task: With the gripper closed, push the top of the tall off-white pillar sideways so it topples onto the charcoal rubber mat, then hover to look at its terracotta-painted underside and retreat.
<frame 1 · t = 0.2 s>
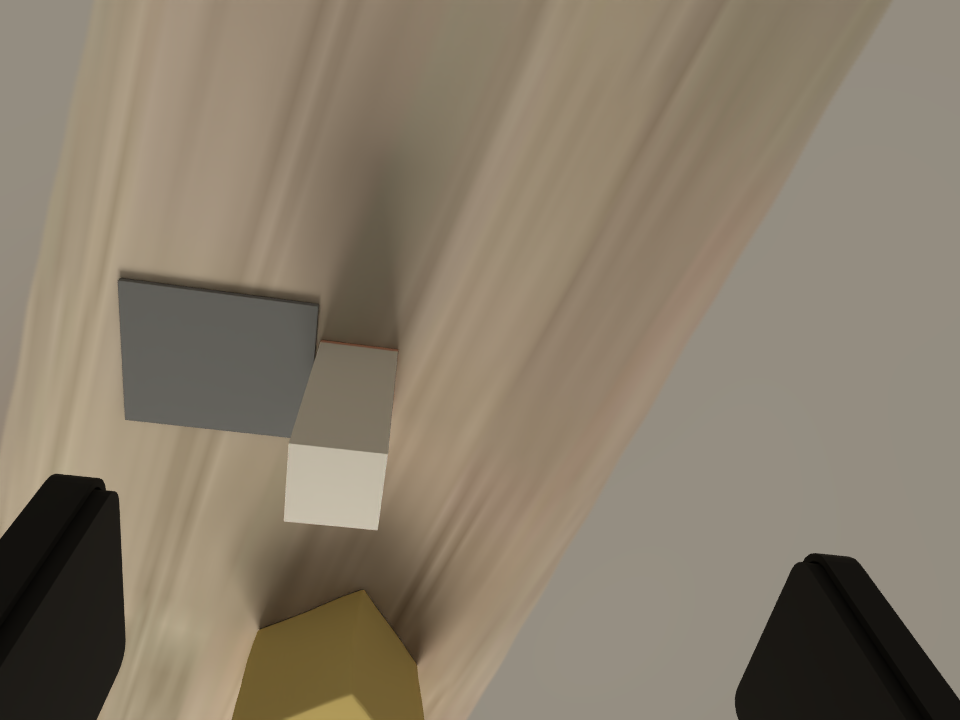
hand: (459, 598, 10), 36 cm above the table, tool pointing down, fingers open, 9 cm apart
cheese: (340, 643, 62), on the table
mat: (220, 362, 49), on the table
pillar: (356, 378, 50), on the table
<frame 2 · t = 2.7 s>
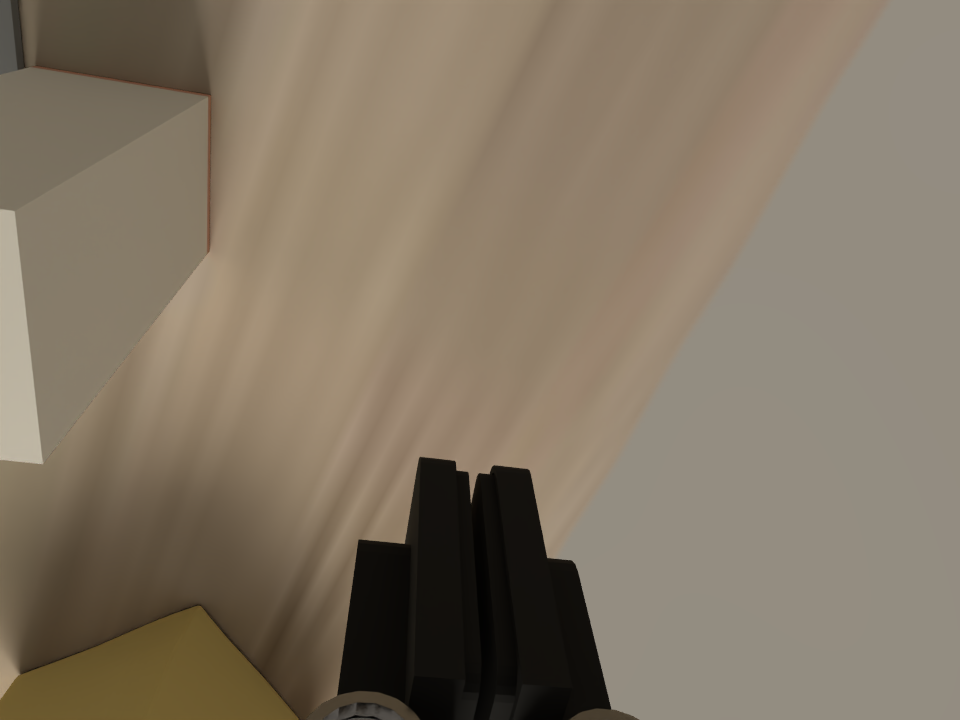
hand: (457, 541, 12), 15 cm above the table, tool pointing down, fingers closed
cheese: (173, 697, 35), on the table
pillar: (127, 164, 24), on the table
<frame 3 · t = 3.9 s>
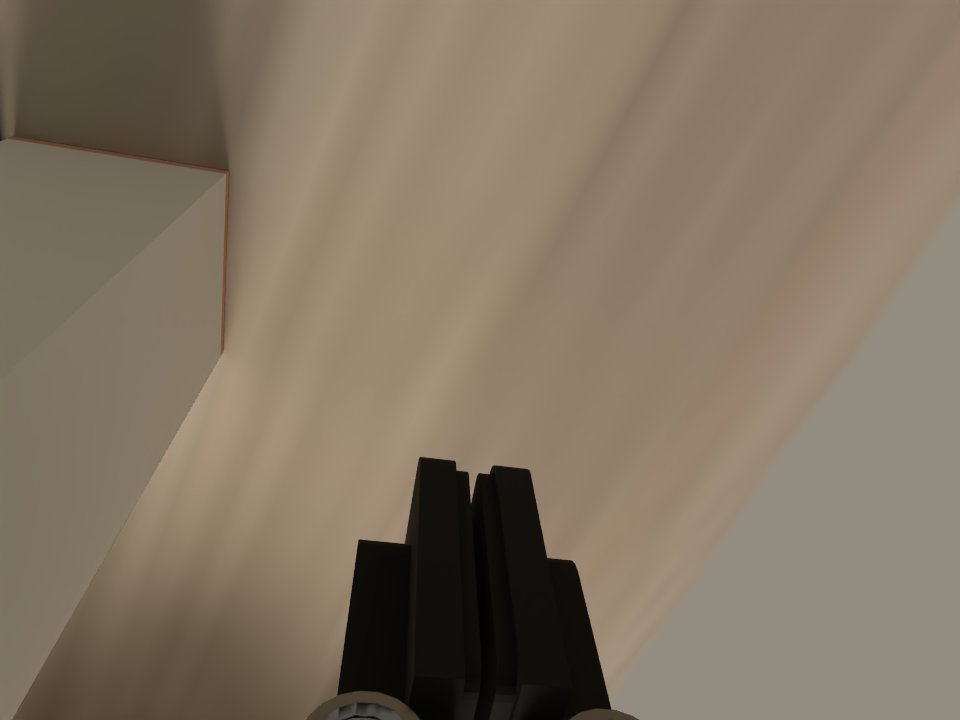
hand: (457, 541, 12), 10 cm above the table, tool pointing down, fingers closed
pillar: (126, 251, 19), on the table
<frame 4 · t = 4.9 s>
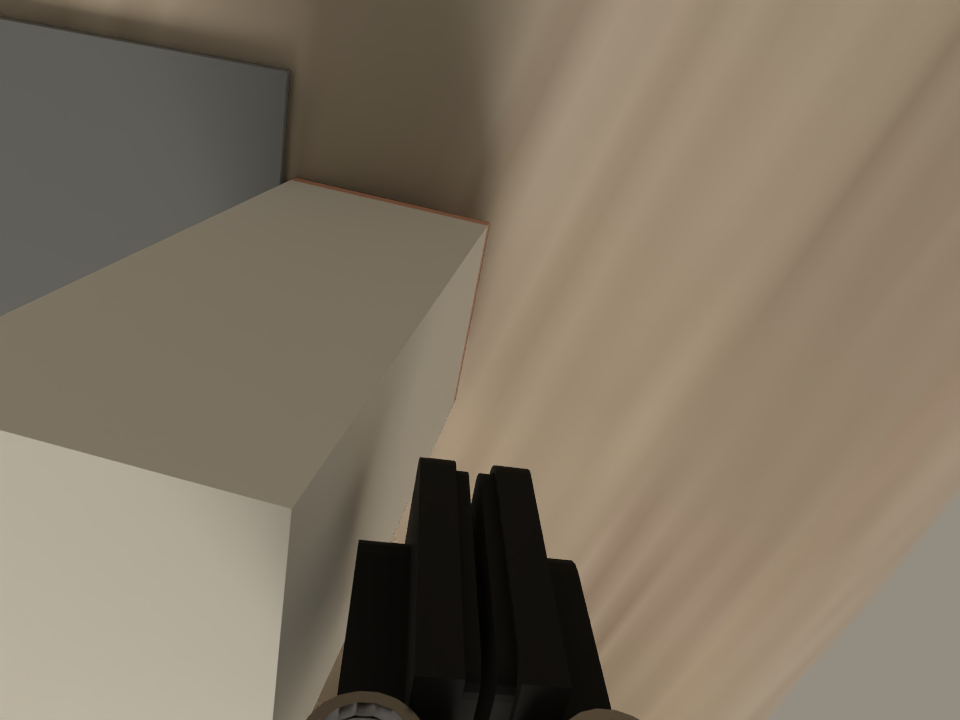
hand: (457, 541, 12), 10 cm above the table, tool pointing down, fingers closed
mat: (35, 233, 19), on the table
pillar: (379, 293, 20), point 1 cm above the table, tilted 14°, touching gripper
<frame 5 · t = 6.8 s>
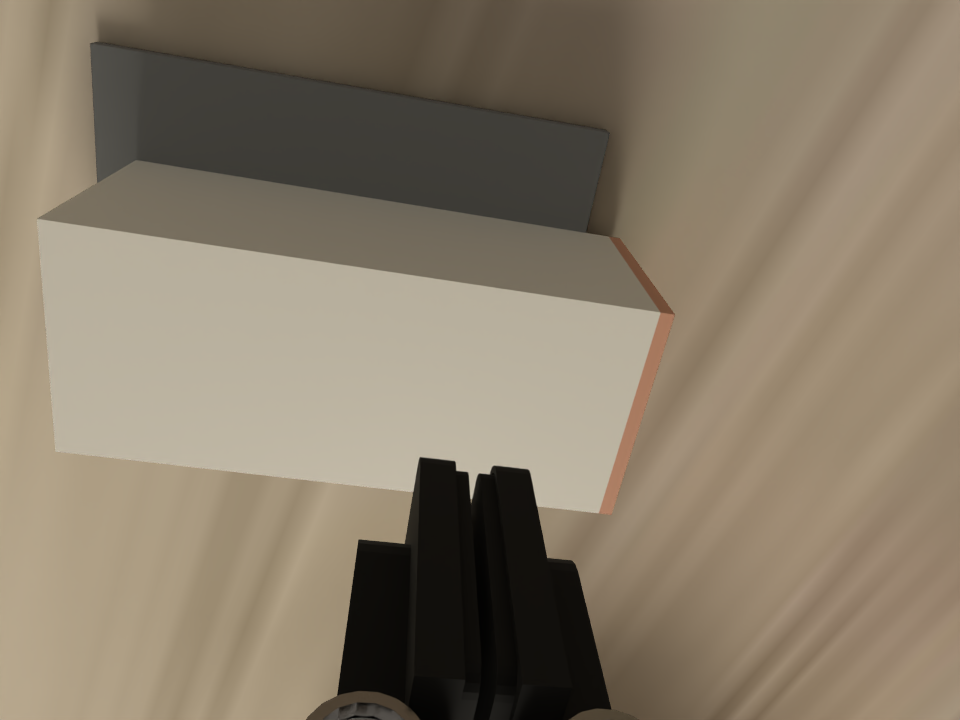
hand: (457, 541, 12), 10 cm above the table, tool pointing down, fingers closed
mat: (343, 283, 20), on the table
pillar: (615, 367, 18), point 3 cm above the table, tilted 90°, touching mat
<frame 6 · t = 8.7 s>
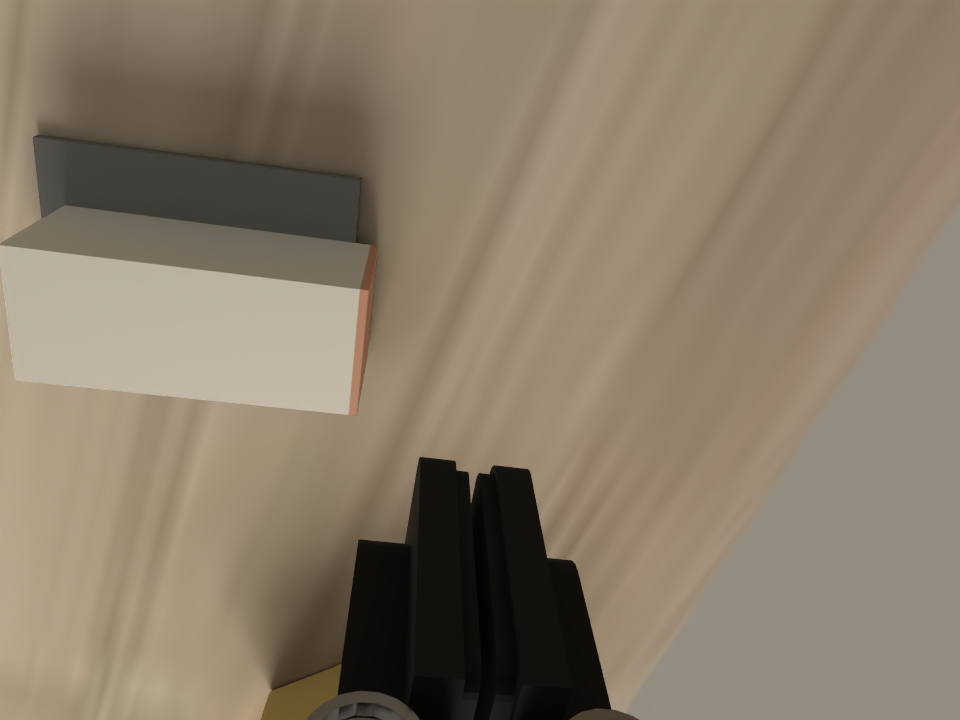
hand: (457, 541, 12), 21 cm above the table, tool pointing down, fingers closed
cheese: (387, 707, 43), on the table
mat: (204, 279, 31), on the table
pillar: (367, 327, 29), point 3 cm above the table, tilted 90°, touching mat
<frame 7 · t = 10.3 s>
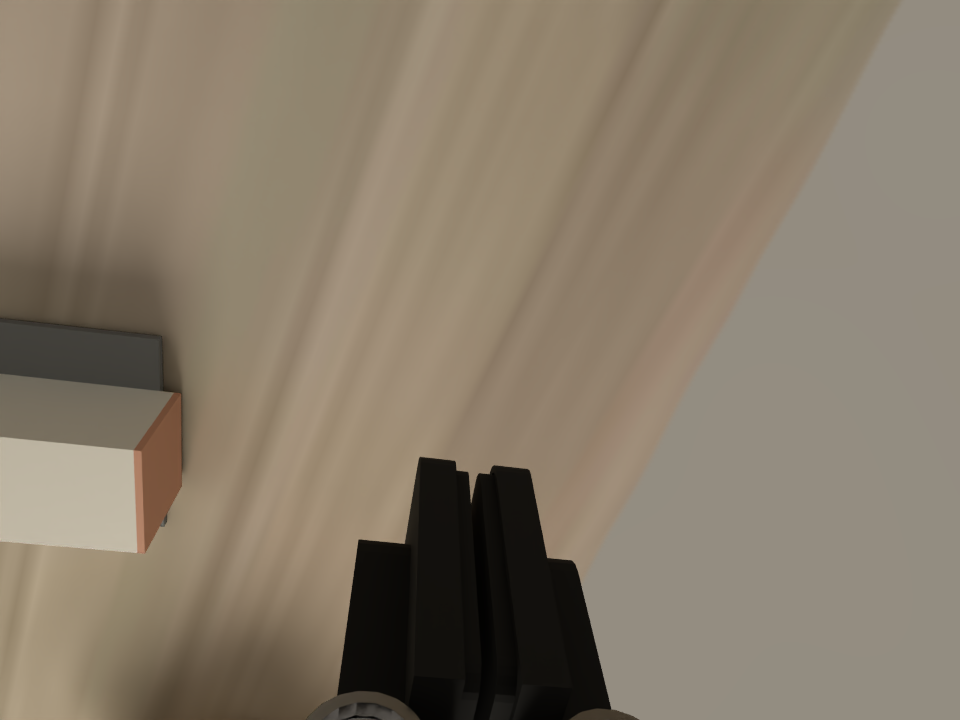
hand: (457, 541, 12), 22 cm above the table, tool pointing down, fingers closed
mat: (29, 421, 35), on the table
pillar: (163, 470, 33), point 3 cm above the table, tilted 90°, touching mat
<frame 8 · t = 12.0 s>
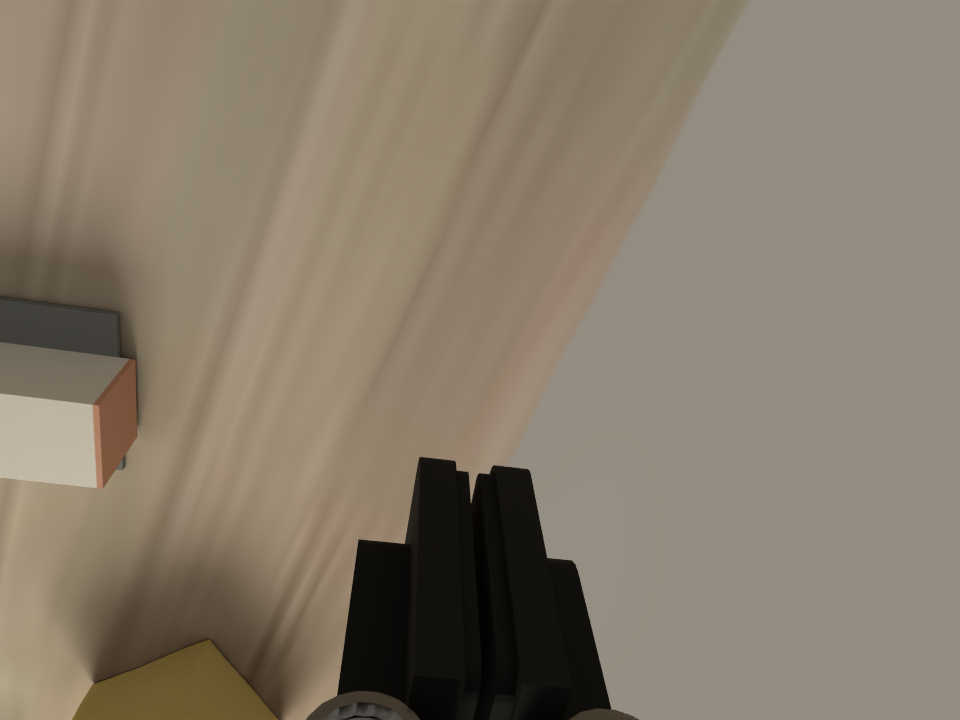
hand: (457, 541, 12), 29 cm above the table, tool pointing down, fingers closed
cheese: (191, 699, 54), on the table
mat: (9, 379, 42), on the table
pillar: (119, 422, 40), point 3 cm above the table, tilted 90°, touching mat
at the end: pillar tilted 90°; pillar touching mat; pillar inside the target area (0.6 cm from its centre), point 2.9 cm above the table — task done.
